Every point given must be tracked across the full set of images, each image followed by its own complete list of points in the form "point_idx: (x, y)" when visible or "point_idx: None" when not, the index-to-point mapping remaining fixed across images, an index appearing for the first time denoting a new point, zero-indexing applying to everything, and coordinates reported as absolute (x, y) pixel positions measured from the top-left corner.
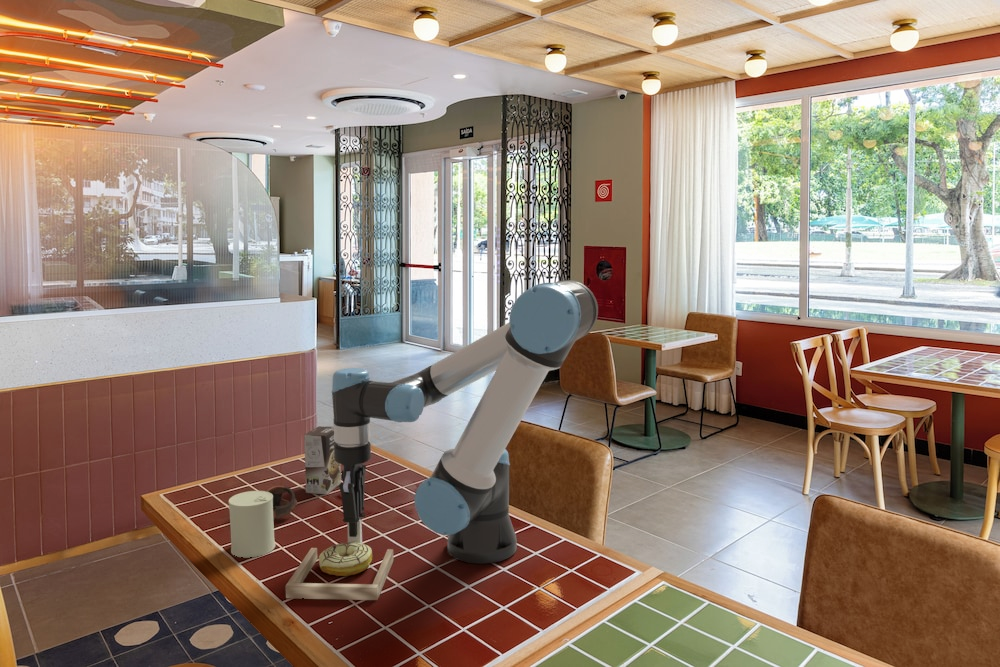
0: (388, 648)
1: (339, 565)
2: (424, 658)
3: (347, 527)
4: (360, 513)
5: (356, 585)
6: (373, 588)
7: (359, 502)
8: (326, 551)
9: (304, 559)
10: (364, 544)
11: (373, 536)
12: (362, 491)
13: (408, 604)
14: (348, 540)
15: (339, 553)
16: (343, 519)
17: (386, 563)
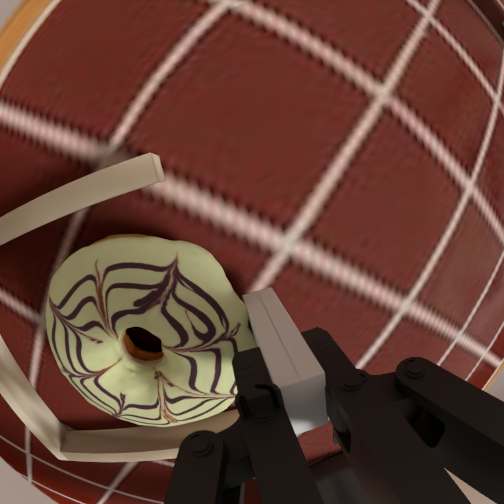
0: (8, 456)
1: (60, 369)
2: (28, 481)
3: (265, 357)
4: (339, 442)
5: (33, 428)
6: (54, 453)
7: (369, 498)
8: (90, 290)
9: (40, 201)
10: (228, 396)
11: (394, 286)
12: (466, 482)
13: (92, 473)
14: (250, 318)
15: (137, 326)
16: (244, 400)
17: (160, 458)
